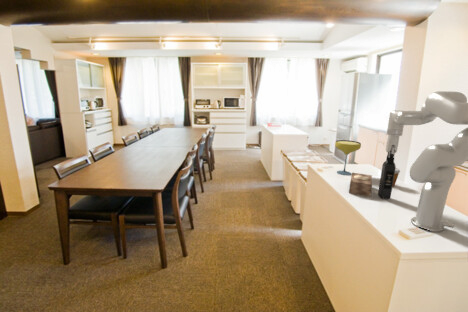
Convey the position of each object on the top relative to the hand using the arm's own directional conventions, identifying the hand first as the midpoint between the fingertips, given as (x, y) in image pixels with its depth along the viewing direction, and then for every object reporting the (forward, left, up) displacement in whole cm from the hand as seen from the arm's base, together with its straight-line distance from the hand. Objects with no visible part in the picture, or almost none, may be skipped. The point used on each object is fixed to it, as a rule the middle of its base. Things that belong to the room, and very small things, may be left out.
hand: (389, 162), depth 146 cm
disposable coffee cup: (-5, -27, -22) cm, 36 cm away
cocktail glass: (+25, -40, -22) cm, 53 cm away
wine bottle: (0, 0, -22) cm, 22 cm away
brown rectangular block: (+13, -7, -22) cm, 27 cm away
